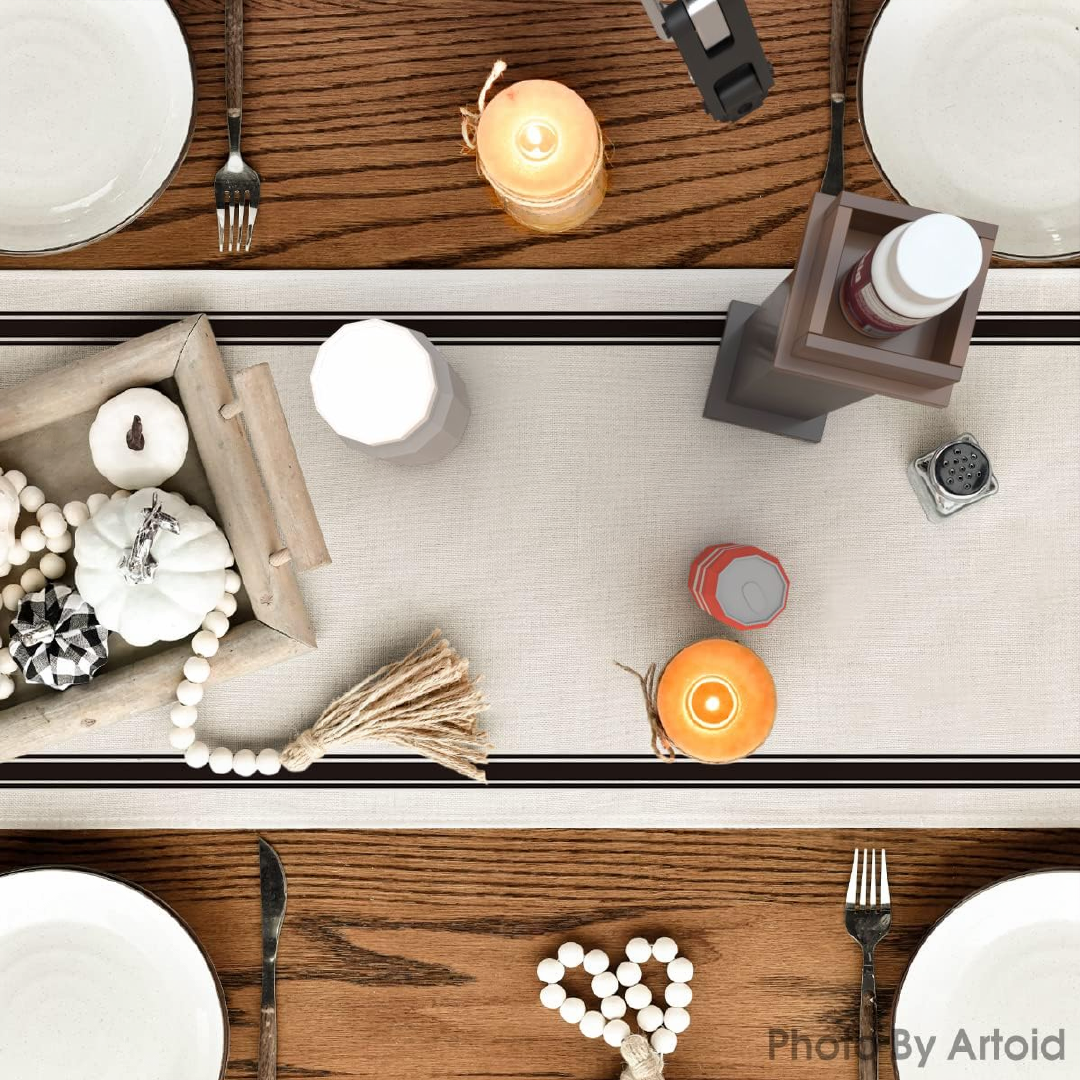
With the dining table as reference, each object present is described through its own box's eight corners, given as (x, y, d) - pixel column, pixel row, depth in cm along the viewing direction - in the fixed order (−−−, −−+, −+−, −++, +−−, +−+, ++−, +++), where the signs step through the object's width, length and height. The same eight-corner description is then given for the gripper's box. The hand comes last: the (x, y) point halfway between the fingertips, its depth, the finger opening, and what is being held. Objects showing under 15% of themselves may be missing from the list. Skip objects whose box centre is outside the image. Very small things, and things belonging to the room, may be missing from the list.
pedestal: (729, 302, 79) (810, 197, 53) (844, 328, 78) (983, 236, 52) (701, 417, 79) (769, 369, 53) (816, 444, 79) (940, 409, 53)
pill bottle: (880, 236, 52) (941, 182, 43) (940, 297, 52) (1013, 255, 43) (818, 297, 52) (867, 255, 43) (878, 358, 52) (938, 327, 43)
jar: (491, 437, 79) (469, 414, 61) (389, 487, 80) (338, 479, 62) (441, 334, 79) (404, 281, 61) (339, 385, 80) (273, 347, 62)
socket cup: (810, 197, 53) (831, 171, 49) (983, 236, 52) (1018, 213, 48) (769, 369, 53) (785, 357, 49) (940, 409, 53) (971, 400, 49)
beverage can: (708, 628, 79) (734, 648, 67) (674, 562, 79) (693, 570, 67) (772, 596, 79) (809, 610, 67) (738, 529, 79) (768, 532, 67)
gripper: (791, -211, 22) (857, 110, 37) (583, -599, 25) (721, -160, 40) (529, -20, 25) (688, 208, 40) (369, -392, 28) (572, -51, 43)
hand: (704, 23), depth 40 cm, fingers open, 8 cm apart
